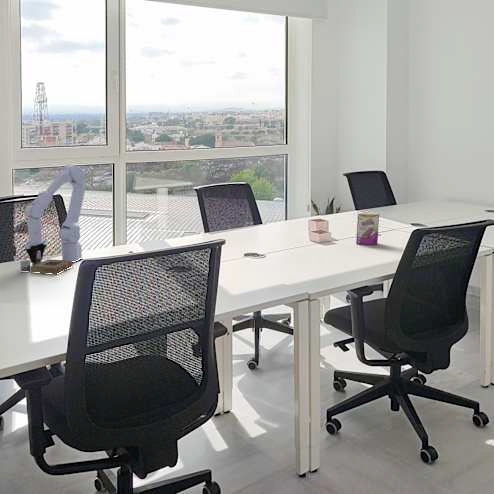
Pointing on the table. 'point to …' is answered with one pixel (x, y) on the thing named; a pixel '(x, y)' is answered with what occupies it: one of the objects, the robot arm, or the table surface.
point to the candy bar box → (367, 228)
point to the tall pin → (38, 257)
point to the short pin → (25, 265)
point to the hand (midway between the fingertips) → (36, 261)
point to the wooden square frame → (51, 266)
